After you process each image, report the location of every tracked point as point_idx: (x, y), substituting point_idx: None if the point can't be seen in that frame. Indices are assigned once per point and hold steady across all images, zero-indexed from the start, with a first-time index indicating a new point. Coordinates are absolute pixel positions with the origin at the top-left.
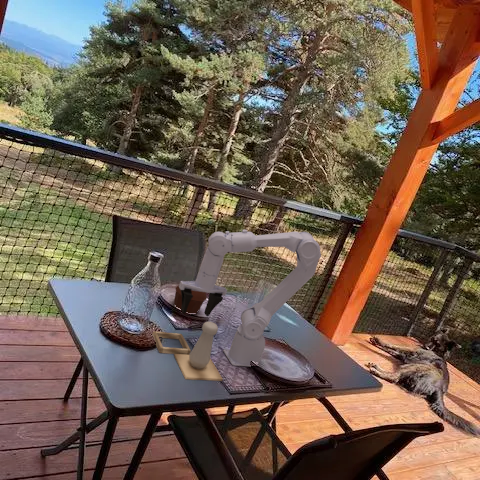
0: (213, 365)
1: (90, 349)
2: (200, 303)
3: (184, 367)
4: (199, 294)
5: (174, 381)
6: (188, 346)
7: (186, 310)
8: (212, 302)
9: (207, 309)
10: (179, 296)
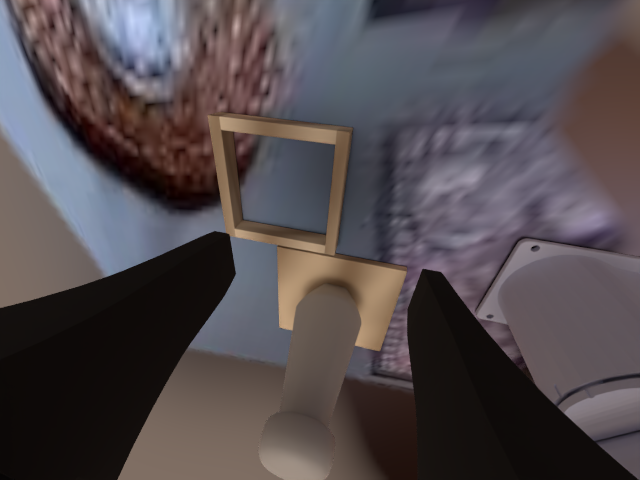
0: (388, 310)
1: (59, 198)
2: None
3: (288, 301)
4: None
5: (254, 322)
6: (335, 233)
7: (219, 301)
8: (424, 477)
9: (420, 333)
10: None
